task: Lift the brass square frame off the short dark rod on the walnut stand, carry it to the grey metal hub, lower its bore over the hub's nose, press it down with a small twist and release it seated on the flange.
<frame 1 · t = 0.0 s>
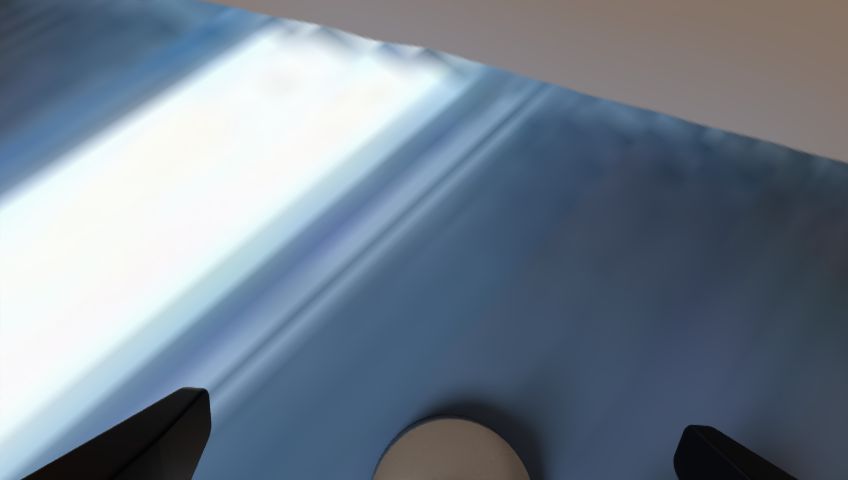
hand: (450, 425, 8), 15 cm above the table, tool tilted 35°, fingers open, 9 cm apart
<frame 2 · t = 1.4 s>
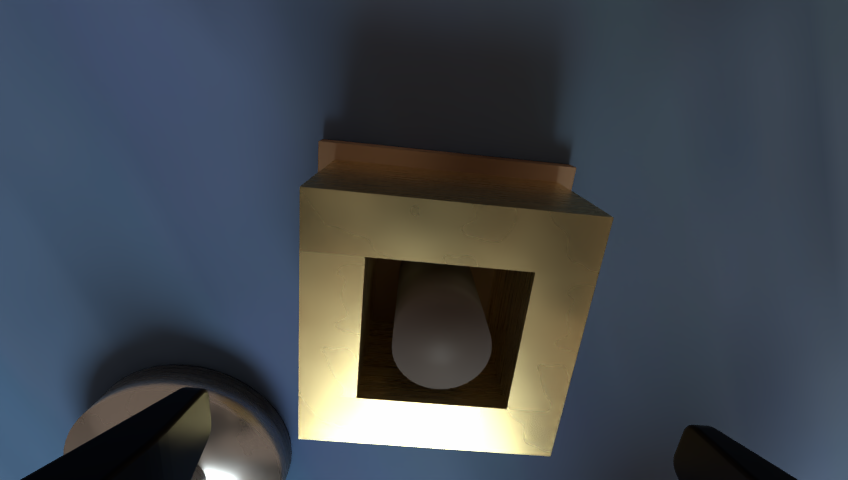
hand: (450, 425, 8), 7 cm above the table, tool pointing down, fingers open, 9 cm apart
hub: (194, 446, 17), on the table
walnut stand: (434, 266, 15), on the table
brass square frame: (434, 273, 14), point 1 cm above the table, touching walnut stand
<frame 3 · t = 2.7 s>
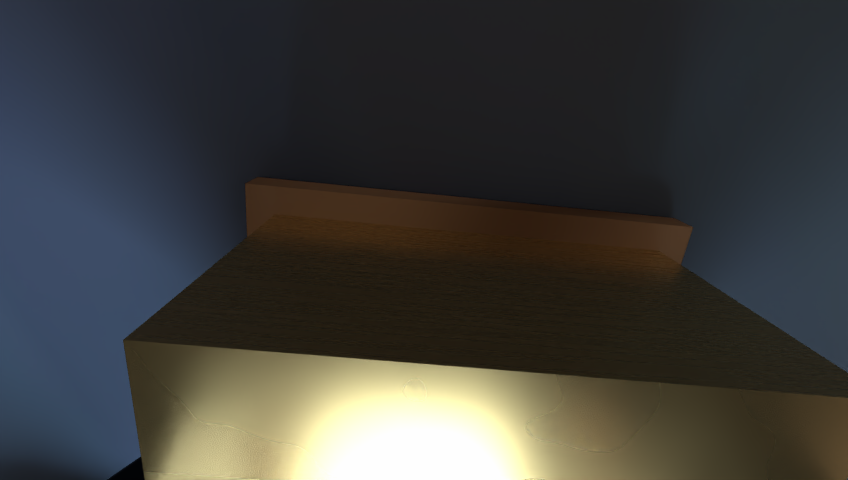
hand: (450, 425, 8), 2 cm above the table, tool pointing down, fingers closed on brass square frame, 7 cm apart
walnut stand: (445, 373, 9), on the table
brass square frame: (447, 391, 9), point 1 cm above the table, touching gripper, walnut stand
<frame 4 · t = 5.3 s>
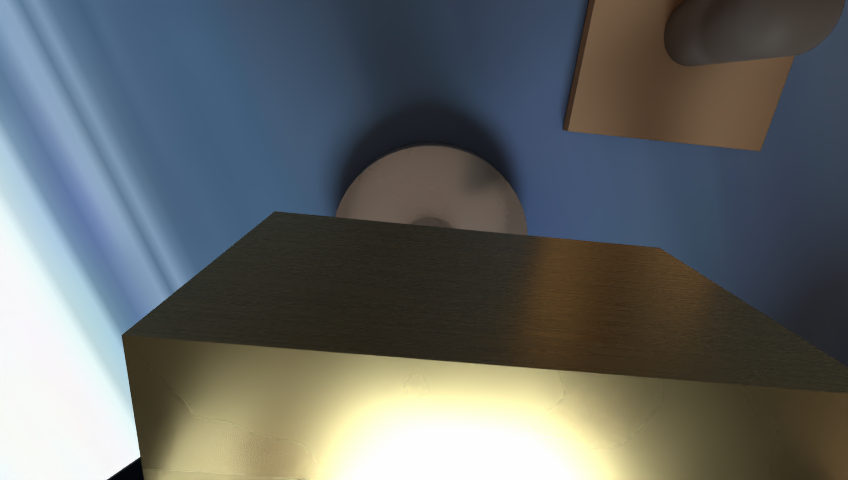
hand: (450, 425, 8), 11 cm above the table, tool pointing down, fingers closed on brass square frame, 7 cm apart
hub: (429, 233, 18), on the table
walnut stand: (686, 33, 16), on the table
brass square frame: (447, 389, 9), point 10 cm above the table, touching gripper
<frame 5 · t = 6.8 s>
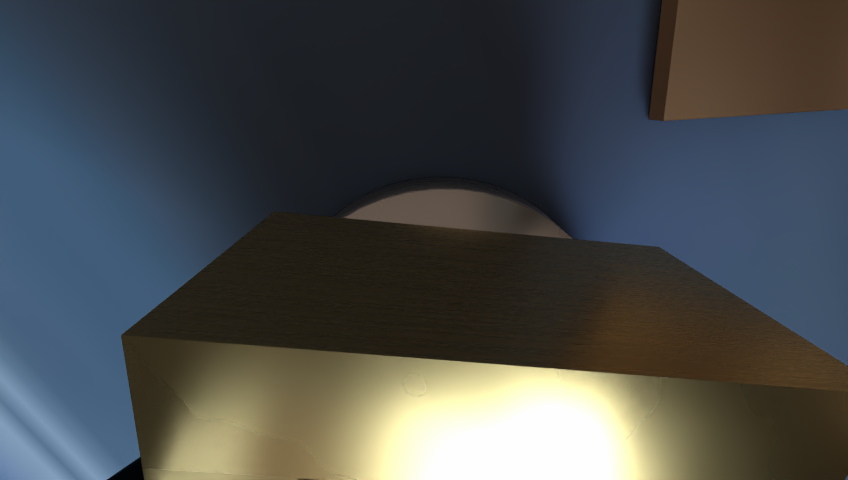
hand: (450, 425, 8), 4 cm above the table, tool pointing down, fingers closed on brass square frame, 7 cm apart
hub: (439, 325, 11), on the table
brass square frame: (447, 389, 9), point 3 cm above the table, touching gripper
when the fingers open (3 cm above the table, at t = 8.2 s): brass square frame stays where it is, resting on hub.
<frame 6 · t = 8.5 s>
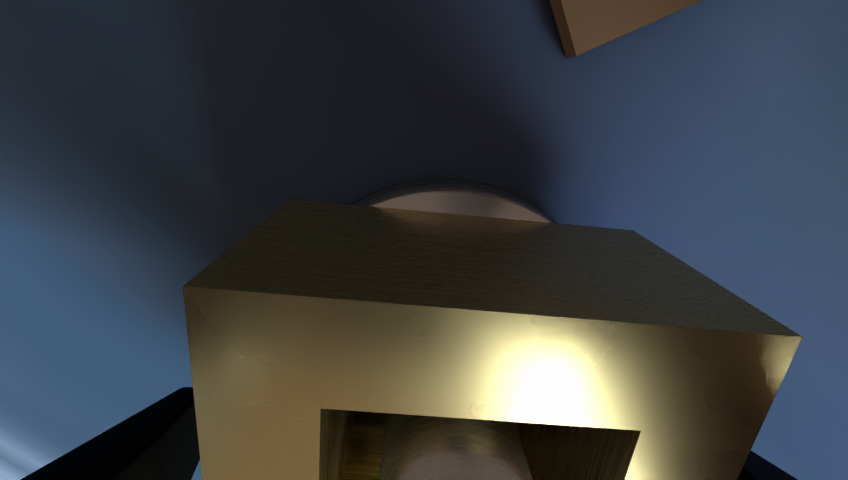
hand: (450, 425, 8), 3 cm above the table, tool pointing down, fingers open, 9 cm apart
hub: (439, 328, 11), on the table
brass square frame: (445, 360, 10), point 1 cm above the table, touching hub
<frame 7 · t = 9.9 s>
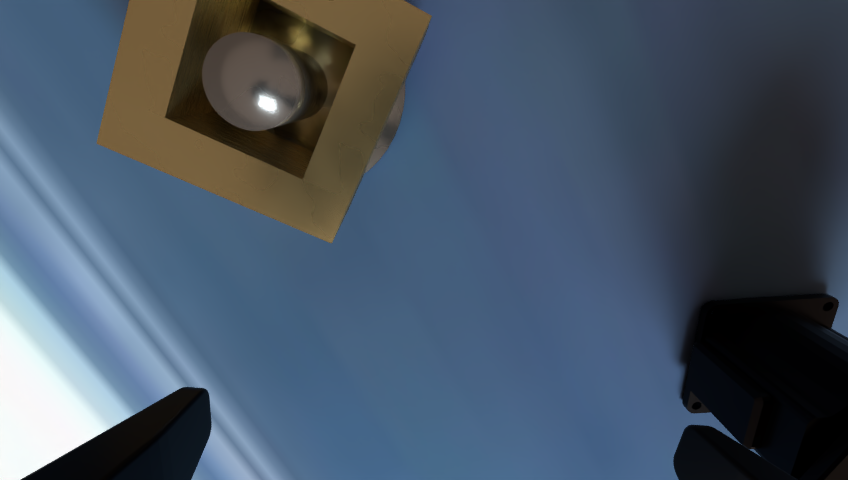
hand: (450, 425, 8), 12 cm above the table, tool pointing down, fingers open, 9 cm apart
hub: (303, 85, 16), on the table
brass square frame: (295, 84, 15), point 1 cm above the table, touching hub
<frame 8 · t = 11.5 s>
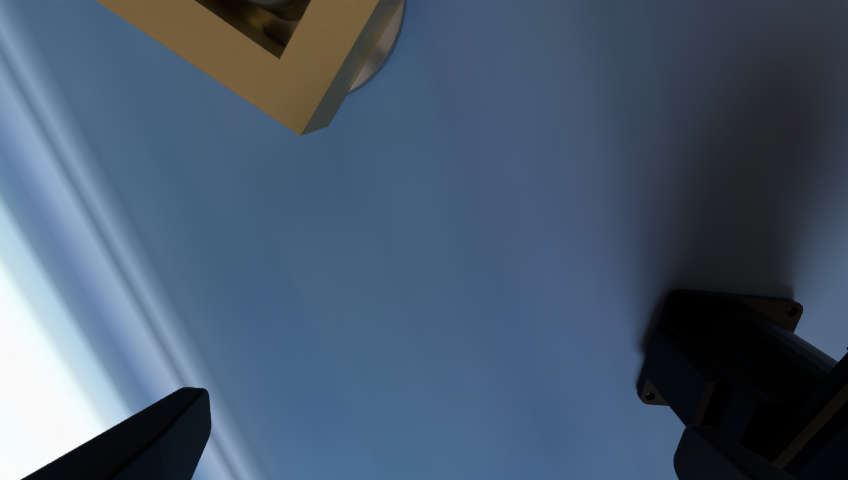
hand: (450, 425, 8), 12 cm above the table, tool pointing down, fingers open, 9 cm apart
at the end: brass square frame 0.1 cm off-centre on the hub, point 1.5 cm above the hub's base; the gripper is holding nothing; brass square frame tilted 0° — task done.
